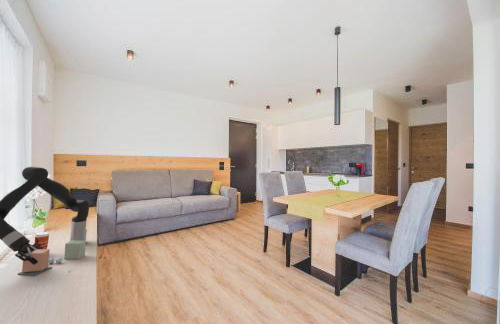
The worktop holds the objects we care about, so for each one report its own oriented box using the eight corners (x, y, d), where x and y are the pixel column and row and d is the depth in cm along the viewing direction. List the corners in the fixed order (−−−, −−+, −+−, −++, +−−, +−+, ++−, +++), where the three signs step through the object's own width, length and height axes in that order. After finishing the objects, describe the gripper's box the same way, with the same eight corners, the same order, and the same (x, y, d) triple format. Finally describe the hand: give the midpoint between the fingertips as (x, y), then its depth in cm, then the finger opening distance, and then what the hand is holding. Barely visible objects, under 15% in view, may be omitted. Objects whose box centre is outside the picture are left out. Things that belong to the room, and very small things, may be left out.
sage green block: (64, 259, 144) (65, 243, 144) (70, 255, 150) (71, 240, 150) (79, 259, 145) (80, 243, 145) (84, 255, 151) (85, 240, 151)
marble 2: (58, 261, 140) (59, 256, 140) (63, 262, 139) (63, 257, 139) (54, 263, 137) (54, 258, 137) (58, 264, 136) (59, 259, 136)
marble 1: (51, 262, 138) (51, 257, 139) (55, 262, 138) (56, 257, 138) (46, 264, 135) (46, 259, 136) (51, 264, 135) (51, 259, 135)
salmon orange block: (22, 272, 122) (23, 253, 123) (29, 267, 128) (30, 249, 128) (41, 270, 125) (43, 253, 125) (48, 266, 131) (49, 249, 131)
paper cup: (38, 257, 144) (40, 235, 144) (29, 255, 145) (31, 234, 146) (51, 253, 152) (53, 232, 152) (42, 251, 153) (44, 231, 153)
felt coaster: (36, 266, 132) (36, 265, 132) (52, 267, 131) (52, 266, 131) (17, 274, 122) (17, 273, 122) (34, 276, 121) (34, 275, 121)
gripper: (12, 240, 118) (37, 261, 121) (30, 232, 132) (53, 251, 135) (-1, 250, 116) (25, 271, 119) (19, 241, 130) (41, 260, 133)
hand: (39, 260), depth 127 cm, fingers closed on salmon orange block, 6 cm apart
